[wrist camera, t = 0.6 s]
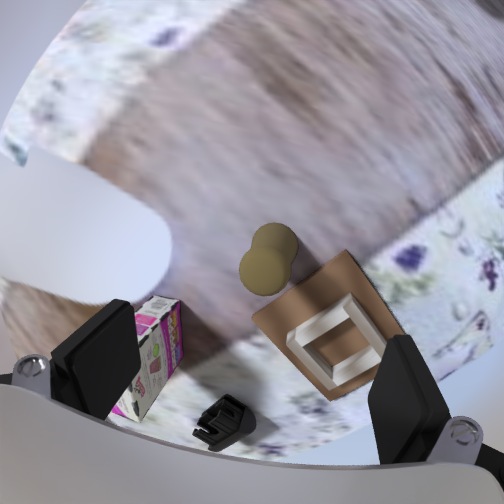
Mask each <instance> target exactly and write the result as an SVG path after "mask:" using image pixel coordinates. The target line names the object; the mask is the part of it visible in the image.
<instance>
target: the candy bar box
mask: <svg viewBox="0 0 504 504" xmlns="http://www.w3.org/2000/svg"><path fill="white" fill-rule="evenodd" d="M134 313H135V321H136V329H137V337H138V344H139V350H140V357H141V369H140V371H139V372H138V374H137V375H136V376H135V378H134V379H133V381H132V382H131V383H130V385H129V386H128V388H127V389H126V390H125V392H124V393H123V395H122V396H121V397H120V399H119V400H118V402H117V403H116V404H115V406H114V407H113V409H112V410H111V411H112V412H113V413H115V414H117V415H120V416H122V417H125V418H128V419H131V420H133V421H136V422H139V423H141V421H142V419H143V418H144V416H145V415H146V413H147V411H148V410H149V409H150V407H151V406H152V404H153V403H154V401H155V400H156V398H157V396H158V395H159V393H160V392H161V390H162V389H163V387H164V385H165V384H166V382H167V381H168V379H169V378H170V376H171V375H172V373H173V372H174V370H175V369H176V367H177V365H178V364H179V362H180V361H181V359H182V358H183V344H182V331H181V315H180V300H178V299H173V298H167V297H162V296H157V295H153V296H152V297H150V298H149V299H148V300H147V301H146V302H145V303H144V304H143V305H142V306H141V307H140V308H139V309H138V310H137V311H135V312H134Z"/></svg>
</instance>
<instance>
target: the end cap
mask: <svg viewBox="0 0 504 504" xmlns="http://www.w3.org/2000/svg"><path fill="white" fill-rule="evenodd" d="M197 425H198V426H200V427H202V428H203V429H205V430H207V431H208V433H207V432H206V431H204V430H202V429H201V428H200V429H199V430H197V429H196V428H195V429H194V431H193V434H192V435H193V436H195V437H197V438H198V439H200V440H202V441H203V442H205V443H207V444H209V447H208V450H210V451H214V452H218V451H222V450H223V449H225V448H227V447H229V446H230V445H232V444H234V443H235V442H237V441H239V440H241V439H242V438H244V437H245V436H247V435H249V434H250V433H252V432H253V431H254V430H255V428H256V419H255V416H254V414H253V413H252V412H251V410H250V409H248V407H247V406H245V405H244V404H243V403H241V402H240V401H238V400H236V399H235V398H233V397H232V396H230V395H228V394H226V395H224V396H223V397H222V398H221V399H219V400H218V401H217V402H216V403H214V404H213V405H212V406H211V407H209V408H208V409H207V410H206V411H204V412H203V413H202V416H201V417H200V418H199V420H198V422H197Z"/></svg>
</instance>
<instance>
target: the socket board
mask: <svg viewBox="0 0 504 504" xmlns="http://www.w3.org/2000/svg"><path fill="white" fill-rule="evenodd" d="M251 319H252V320H253V322H254V323H255V324H256V325H257V326H258V327H259V328H260V329H261V330H262V331H263V332H264V334H265V335H266V336H267V337H268V338H269V339H270V340H271V341H272V342H273V343H274V344H275V345H276V346H277V347H278V349H279V350H280V351H281V352H282V353H283V354H284V355H285V356H286V357H287V358H288V359H289V360H290V361H291V362H292V363H293V364H294V365H295V366H296V367H297V369H298V370H299V371H300V372H301V373H302V374H303V375H304V376H305V377H306V378H307V379H308V380H309V381H310V382H311V383H312V384H313V385H314V386H315V387H316V388H317V389H318V390H319V391H320V392H321V393H322V394H323V395H324V396H325V397H326V398H327V399H328V400H329V401H332V400H334V399H336V398H338V397H340V396H342V395H344V394H346V393H348V392H350V391H352V390H354V389H355V388H357V387H359V386H361V385H363V384H365V383H366V382H368V381H370V380H372V379H373V378H375V376H376V373H377V370H378V368H379V365H380V362H381V359H382V356H383V353H384V350H385V347H386V344H387V341H388V339H389V338H393V336H394V335H395V334H401V335H405V334H404V332H403V331H402V329H401V327H400V326H399V324H398V323H397V321H396V320H395V318H394V317H393V315H392V314H391V312H390V311H389V309H388V308H387V306H386V305H385V303H384V302H383V300H382V299H381V297H380V296H379V295H378V293H377V292H376V290H375V289H374V287H373V286H372V285H371V283H370V282H369V280H368V279H367V277H366V276H365V275H364V273H363V272H362V270H361V269H360V268H359V266H358V265H357V263H356V262H355V261H354V259H353V258H352V257H351V255H350V254H349V253H348V251H347V250H346V249H345V250H344V251H343V252H341V253H340V254H339V255H337V256H336V257H335V258H333V259H332V260H331V261H329V262H328V263H326V264H325V265H324V266H322V267H321V268H319V269H318V270H317V271H315V272H314V273H313V274H311V275H310V276H308V277H307V278H306V279H304V280H303V281H301V282H300V283H298V284H297V285H296V286H294V287H293V288H291V289H290V290H288V291H287V292H286V293H284V294H283V295H281V296H280V297H278V298H277V299H275V300H274V301H273V302H271V303H270V304H268V305H267V306H265V307H264V308H262V309H261V310H259V311H258V312H256V313H255V314H253V316H252V318H251Z"/></svg>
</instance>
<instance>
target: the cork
mask: <svg viewBox="0 0 504 504" xmlns="http://www.w3.org/2000/svg"><path fill="white" fill-rule="evenodd" d="M297 251H298V241H297V238H296V236H295V234H294V232H293V231H292V230H291V229H290V228H289V227H287V226H285V225H283V224H280V223H268V224H266V225H264V226H262V227H260V228H259V229H258V230H257V231H256V233H255V235H254V237H253V240H252V245H251V249H250V250H249V251H248V252H247V253H246V254H245V255H244V256H243V258H242V260H241V262H240V267H239V274H240V279H241V281H242V283H243V285H244V286H245V287H246V288H247V289H248V290H249V291H250V292H252V293H254V294H256V295H260V296H272V295H274V294H277V293H279V292H280V291H281V290H282V289H283V288H284V287H286V285H287V283H288V281H289V279H290V274H291V267H290V264H291V263H292V261H293V259H294V258H295V256H296V254H297Z"/></svg>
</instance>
